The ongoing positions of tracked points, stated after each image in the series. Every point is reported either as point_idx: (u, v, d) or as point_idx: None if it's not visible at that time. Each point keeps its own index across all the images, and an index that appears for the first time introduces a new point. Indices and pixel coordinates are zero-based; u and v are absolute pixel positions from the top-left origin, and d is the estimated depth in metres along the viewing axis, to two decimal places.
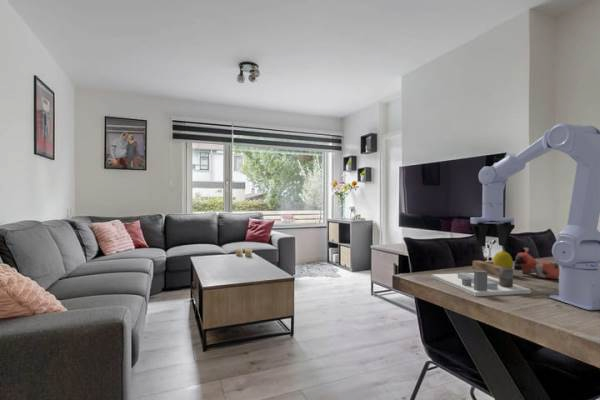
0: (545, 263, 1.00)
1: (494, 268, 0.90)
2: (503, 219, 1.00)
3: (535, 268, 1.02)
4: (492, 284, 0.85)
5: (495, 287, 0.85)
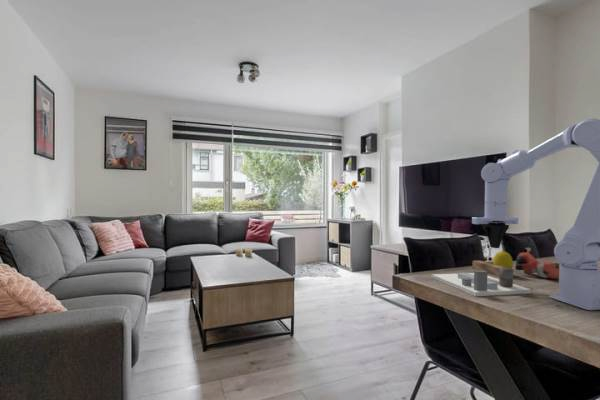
0: (546, 263, 1.00)
1: (494, 268, 0.90)
2: (507, 219, 0.94)
3: (536, 268, 1.02)
4: (492, 284, 0.85)
5: (495, 287, 0.85)
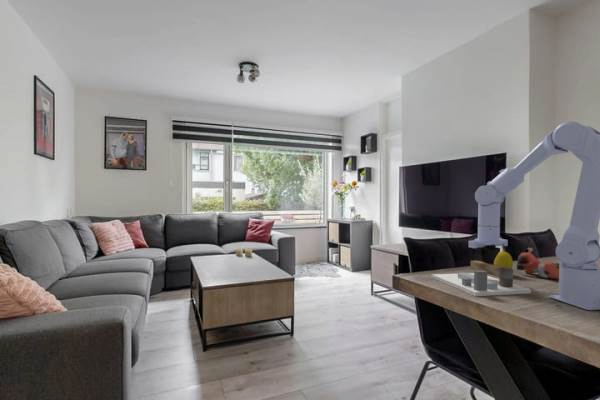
0: (547, 263, 1.00)
1: (494, 268, 0.90)
2: (500, 242, 0.94)
3: (537, 268, 1.02)
4: (492, 284, 0.85)
5: (495, 287, 0.85)
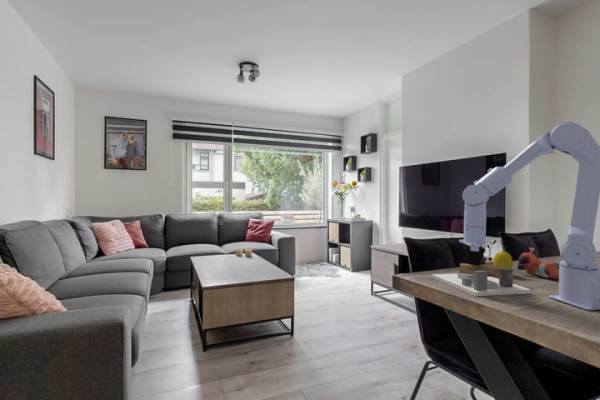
0: (547, 263, 1.00)
1: (494, 270, 0.88)
2: None
3: (538, 268, 1.02)
4: (492, 284, 0.85)
5: (495, 287, 0.85)
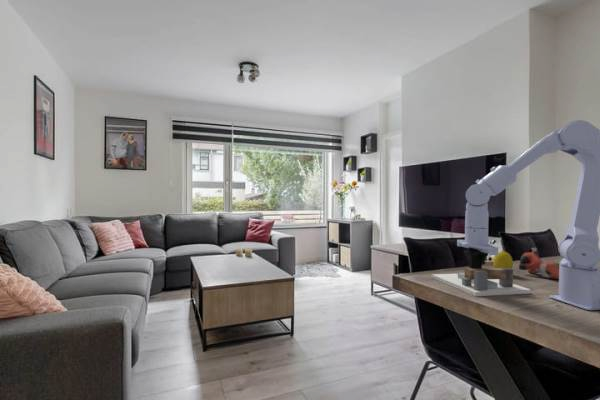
0: (549, 263, 1.00)
1: (500, 271, 0.86)
2: None
3: (539, 268, 1.02)
4: (492, 284, 0.85)
5: (495, 287, 0.85)
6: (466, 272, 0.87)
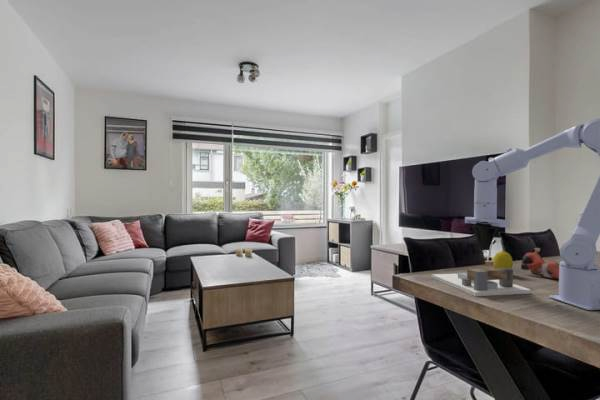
0: (550, 263, 1.00)
1: (501, 272, 0.86)
2: None
3: (541, 268, 1.03)
4: (492, 284, 0.85)
5: (495, 287, 0.85)
6: (469, 273, 0.86)
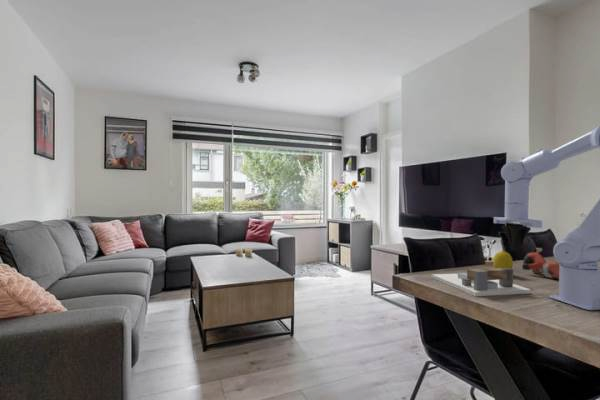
0: (551, 263, 1.00)
1: (501, 272, 0.86)
2: None
3: (542, 268, 1.03)
4: (492, 284, 0.85)
5: (495, 287, 0.85)
6: (469, 273, 0.86)
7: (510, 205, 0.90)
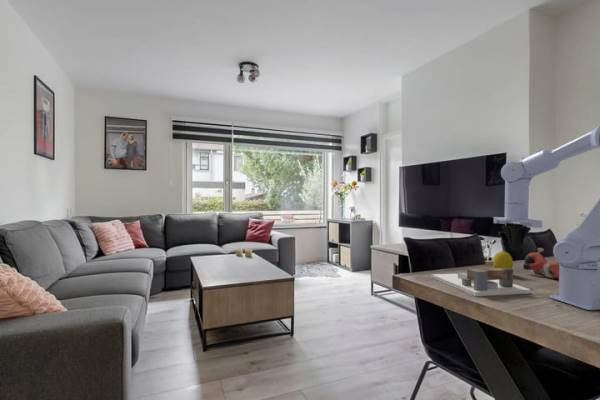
0: (552, 263, 1.00)
1: (501, 272, 0.86)
2: None
3: (543, 268, 1.03)
4: (492, 284, 0.85)
5: (495, 287, 0.85)
6: (469, 273, 0.86)
7: (510, 205, 0.90)
